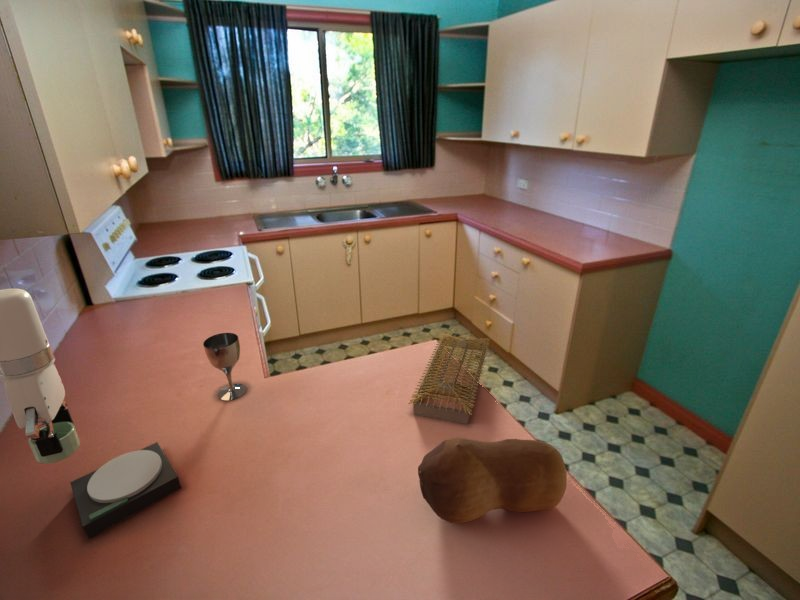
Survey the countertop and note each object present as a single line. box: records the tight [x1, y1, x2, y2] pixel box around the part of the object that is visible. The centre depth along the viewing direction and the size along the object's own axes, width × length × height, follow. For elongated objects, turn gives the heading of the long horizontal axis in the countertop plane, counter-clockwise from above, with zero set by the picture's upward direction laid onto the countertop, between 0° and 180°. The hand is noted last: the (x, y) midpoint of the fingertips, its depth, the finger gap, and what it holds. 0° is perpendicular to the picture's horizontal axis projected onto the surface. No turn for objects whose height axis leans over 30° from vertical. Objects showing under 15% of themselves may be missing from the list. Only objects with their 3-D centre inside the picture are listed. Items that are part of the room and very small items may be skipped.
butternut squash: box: [417, 436, 568, 524], centre depth 73 cm, size 14×13×25 cm
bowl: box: [28, 422, 81, 464], centre depth 81 cm, size 7×7×5 cm
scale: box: [69, 441, 182, 540], centre depth 80 cm, size 15×13×4 cm
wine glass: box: [202, 332, 248, 402], centre depth 105 cm, size 8×8×15 cm
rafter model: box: [408, 332, 491, 425], centre depth 110 cm, size 35×14×6 cm, turn 162°
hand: (58, 439), depth 81 cm, fingers closed on bowl, 6 cm apart
